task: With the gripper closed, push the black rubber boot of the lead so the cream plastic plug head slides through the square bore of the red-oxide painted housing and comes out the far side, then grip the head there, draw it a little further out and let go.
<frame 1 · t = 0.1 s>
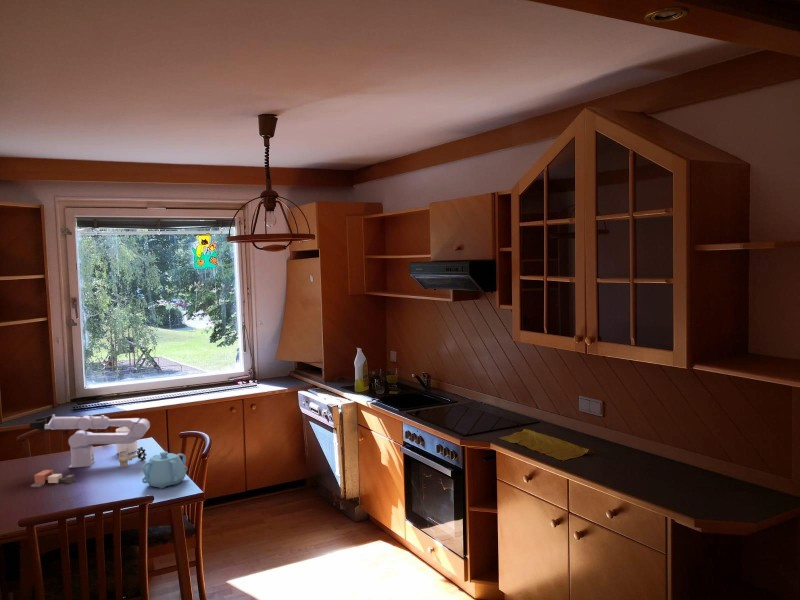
hand: (32, 423, 307), 22 cm above the table, tool horizontal, fingers open, 7 cm apart
valve: (131, 464, 311), on the table
white cylinder: (128, 452, 331), on the table
plug: (55, 482, 288), on the table
decorative pot: (165, 484, 280), on the table
housing: (44, 482, 289), on the table
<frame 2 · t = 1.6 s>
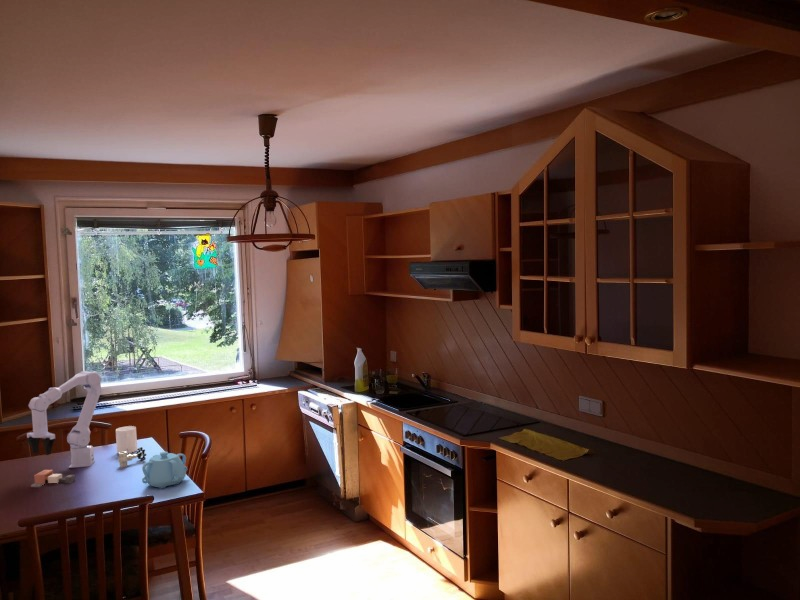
hand: (42, 453, 297), 10 cm above the table, tool pointing down, fingers open, 7 cm apart
nothing on the table moved.
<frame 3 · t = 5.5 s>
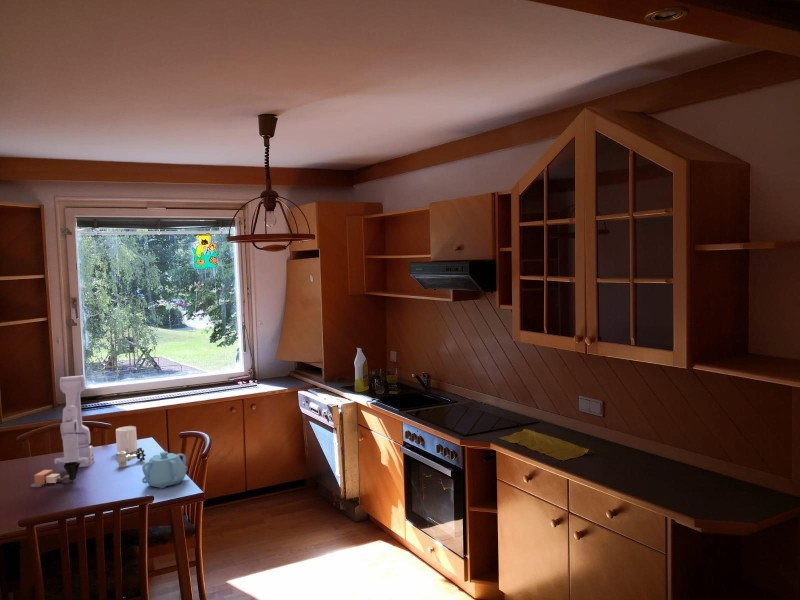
hand: (73, 479, 288), 1 cm above the table, tool pointing down, fingers closed
plug: (53, 482, 288), on the table, touching gripper
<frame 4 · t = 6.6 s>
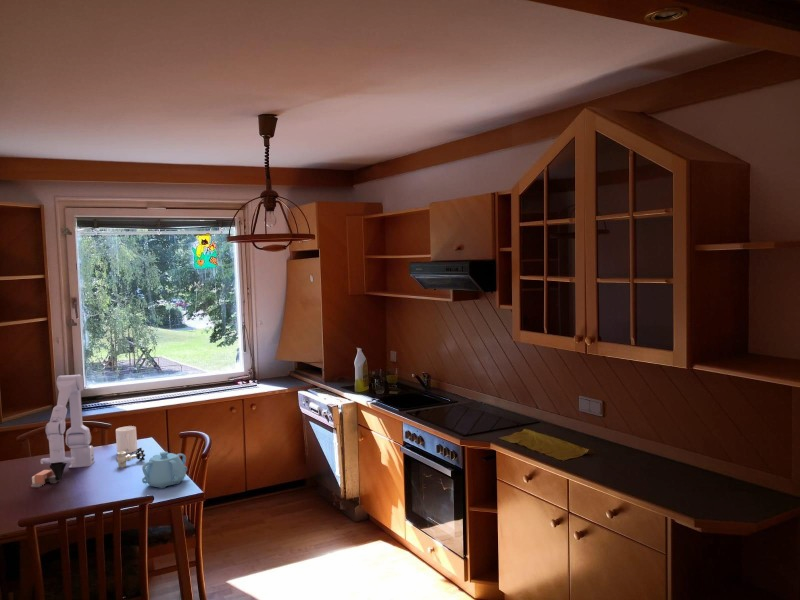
hand: (59, 479, 288), 1 cm above the table, tool pointing down, fingers closed
plug: (39, 482, 289), on the table, touching gripper
everything else where it was.
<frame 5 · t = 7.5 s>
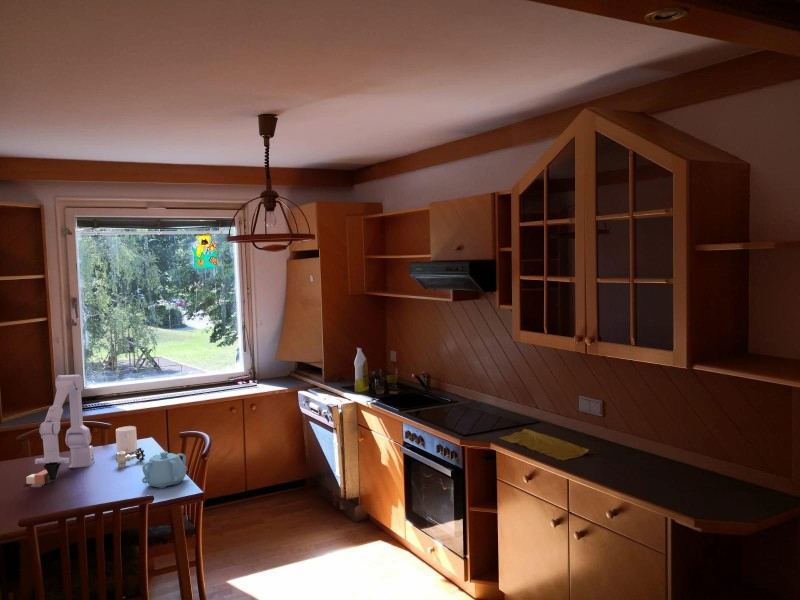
hand: (53, 479, 288), 1 cm above the table, tool pointing down, fingers closed
plug: (34, 482, 289), on the table, touching gripper
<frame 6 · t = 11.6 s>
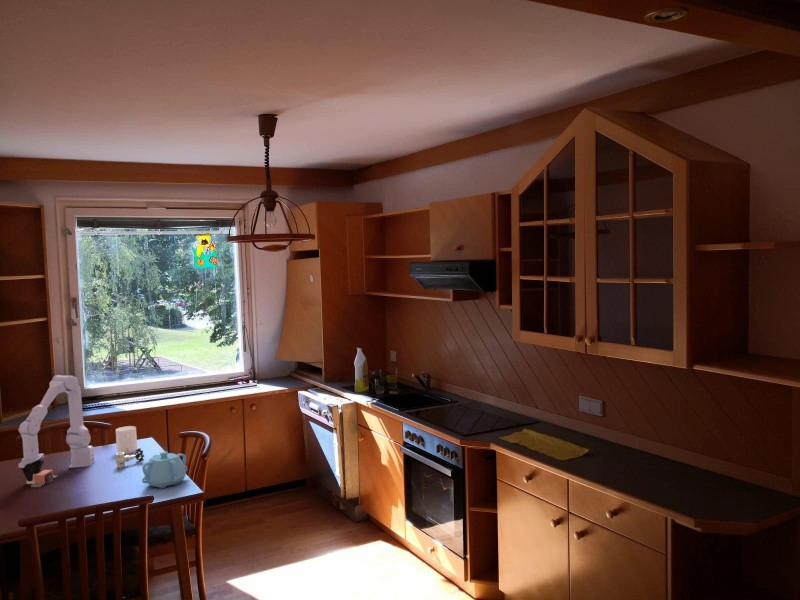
hand: (33, 479, 289), 1 cm above the table, tool pointing down, fingers closed on plug, 4 cm apart
plug: (33, 482, 289), on the table, touching gripper
when the fingers open (1 cm above the table, at t = 13.0 s): plug stays where it is, on the table.
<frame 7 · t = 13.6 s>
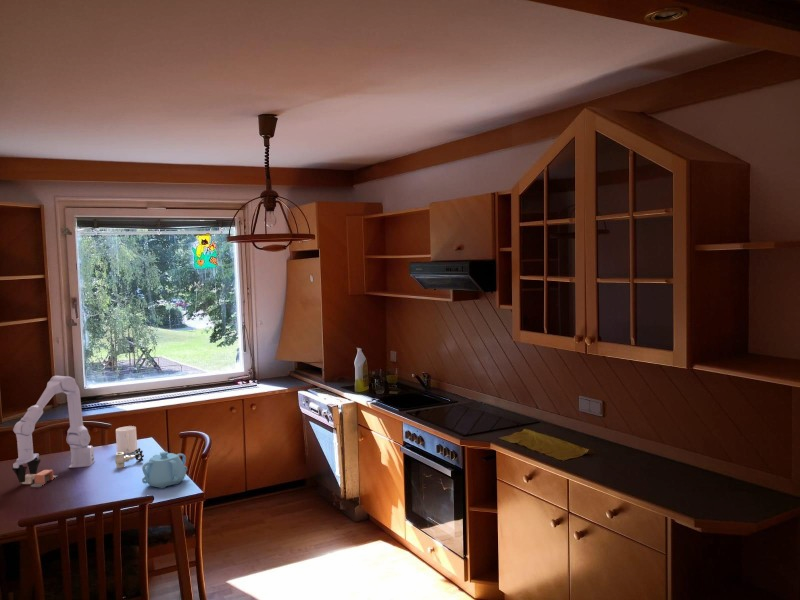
hand: (27, 479, 289), 1 cm above the table, tool pointing down, fingers open, 7 cm apart
plug: (29, 482, 289), on the table
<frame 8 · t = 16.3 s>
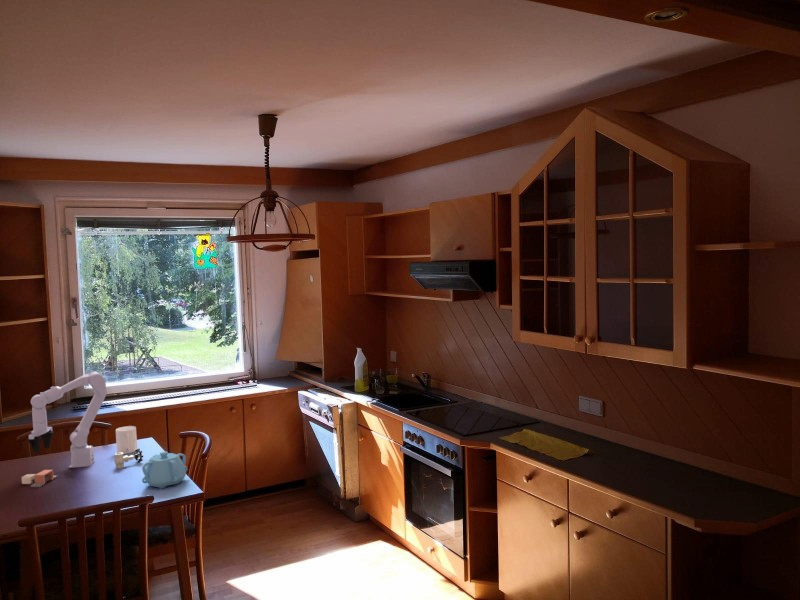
hand: (42, 450, 303), 10 cm above the table, tool pointing down, fingers open, 7 cm apart
at the end: plug 1.8 cm from the target spot on the table beside the housing, on the table; the gripper is holding nothing; plug tilted 0° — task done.
